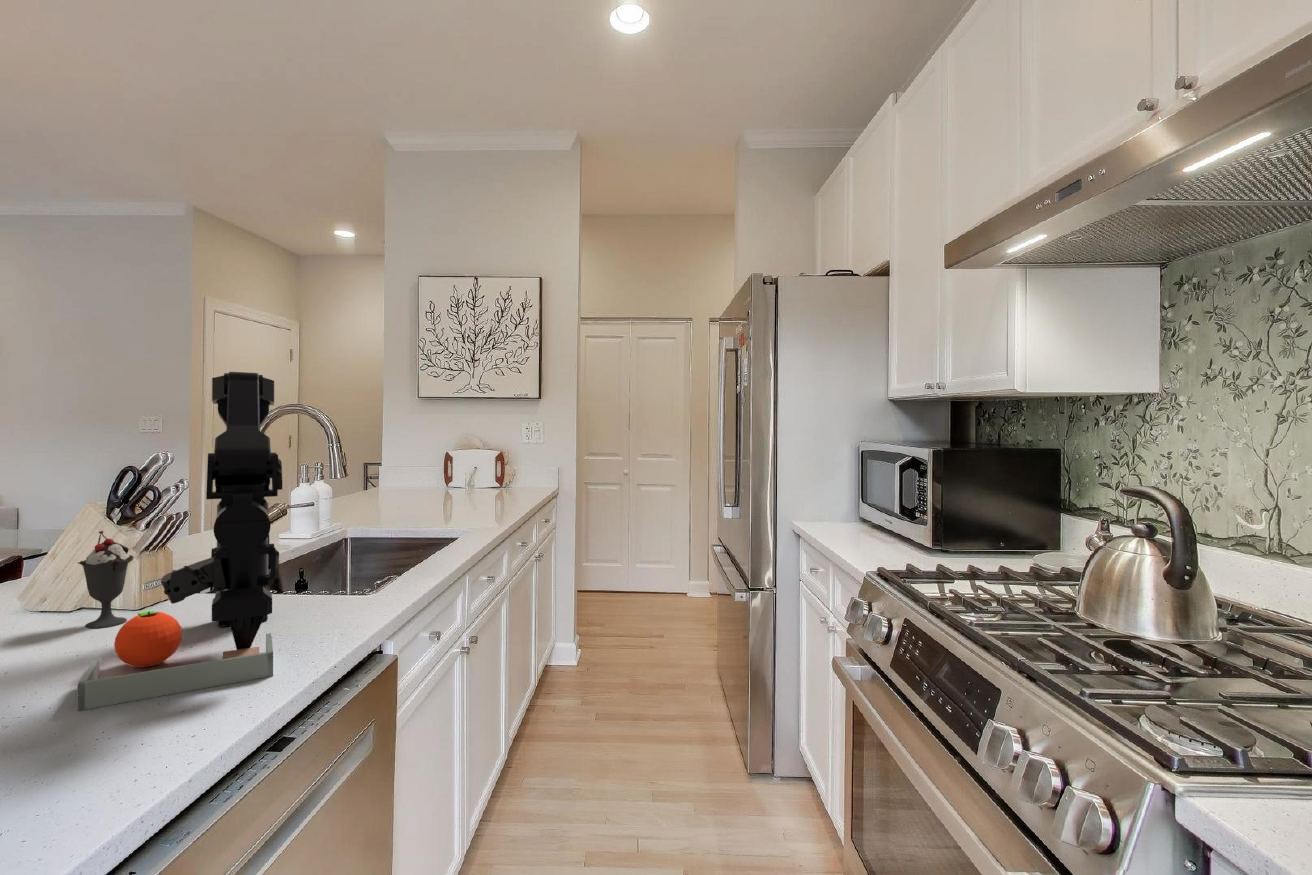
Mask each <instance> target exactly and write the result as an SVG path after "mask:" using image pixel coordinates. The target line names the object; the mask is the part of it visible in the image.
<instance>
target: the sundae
mask: <svg viewBox="0 0 1312 875" xmlns="http://www.w3.org/2000/svg"><path fill="white" fill-rule="evenodd" d="M98 534H99V536H98V541H97V544H96V545H95V546H94V549H93V550H92V552H90V553H89V555H88V556H87V557H86V559H85V560H80V561H78V562H77V564H79V565H81V566H82V568H83V571H84V576H85V581H86V587H87V591H88V595H89V597H91V598H92V599H93V600H95V601H97V602H100V604H101V610H100V614H99V616H98V618H97V619H95V620H93V621H90V622H87V623H86V624H85V625H84V627H85V628H87V629H104V628H110V627H115V626H118V625H122V624H123V623H124V624H125V623H126V622H128V619H127V618H126V617H121V616H115V615H114V613H113V610H112V602H113V601H114V600H115V599H116V598H118V597H119V596H120V595H121V594H122V593H123V591H124V586H125V583H126V577H127V569H128V565H129V563H131V562H132V561H133V560H134V556H133V555H131V554H129V553H128V552H129V550H130V549H129V547H127V546H125V545H123V544H122V543H119V542H115V541H114V539H113V538H107V537H106V536H105V535H104V530H100V531H98ZM101 536H102V537H103V538H104V539H105V540H104V541H103V542H101ZM100 542H101V543H100Z"/></svg>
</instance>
